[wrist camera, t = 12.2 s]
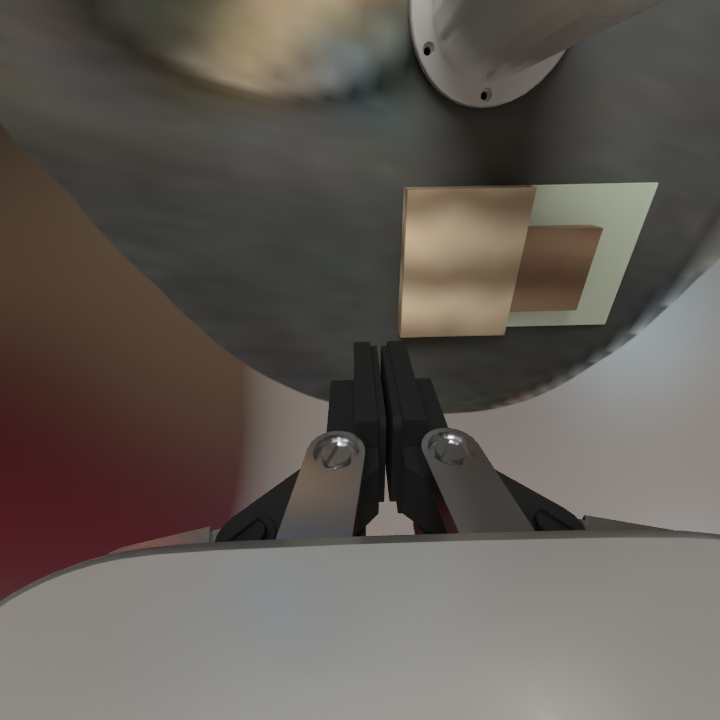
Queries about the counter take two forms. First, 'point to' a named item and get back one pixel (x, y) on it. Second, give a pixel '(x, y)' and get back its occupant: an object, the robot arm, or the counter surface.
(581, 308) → the sage mat
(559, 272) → the walnut block
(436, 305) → the birch board
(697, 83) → the counter surface
